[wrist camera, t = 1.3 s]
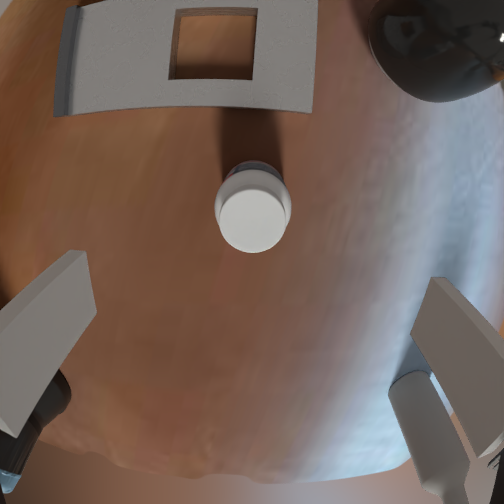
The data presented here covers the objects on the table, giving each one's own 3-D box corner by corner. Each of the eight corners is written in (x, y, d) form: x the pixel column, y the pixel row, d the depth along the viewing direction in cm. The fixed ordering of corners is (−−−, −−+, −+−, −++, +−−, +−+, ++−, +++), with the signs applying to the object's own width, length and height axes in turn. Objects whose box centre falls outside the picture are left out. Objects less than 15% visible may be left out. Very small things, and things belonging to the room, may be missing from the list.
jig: (69, 116, 23) (53, 117, 20) (80, 15, 19) (66, 8, 16) (307, 114, 23) (313, 112, 21) (313, 2, 19) (320, -10, 16)
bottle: (417, 398, 37) (475, 549, 12) (381, 403, 37) (430, 570, 11) (435, 368, 35) (511, 529, 9) (397, 372, 35) (466, 557, 9)
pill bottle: (228, 155, 25) (214, 169, 17) (289, 165, 25) (305, 184, 17) (219, 214, 27) (203, 255, 19) (277, 224, 27) (287, 268, 19)
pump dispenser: (455, 108, 22) (575, 119, 8) (362, 101, 23) (473, 86, 9) (439, 15, 18) (541, -22, 4) (345, 0, 19) (419, -87, 5)
